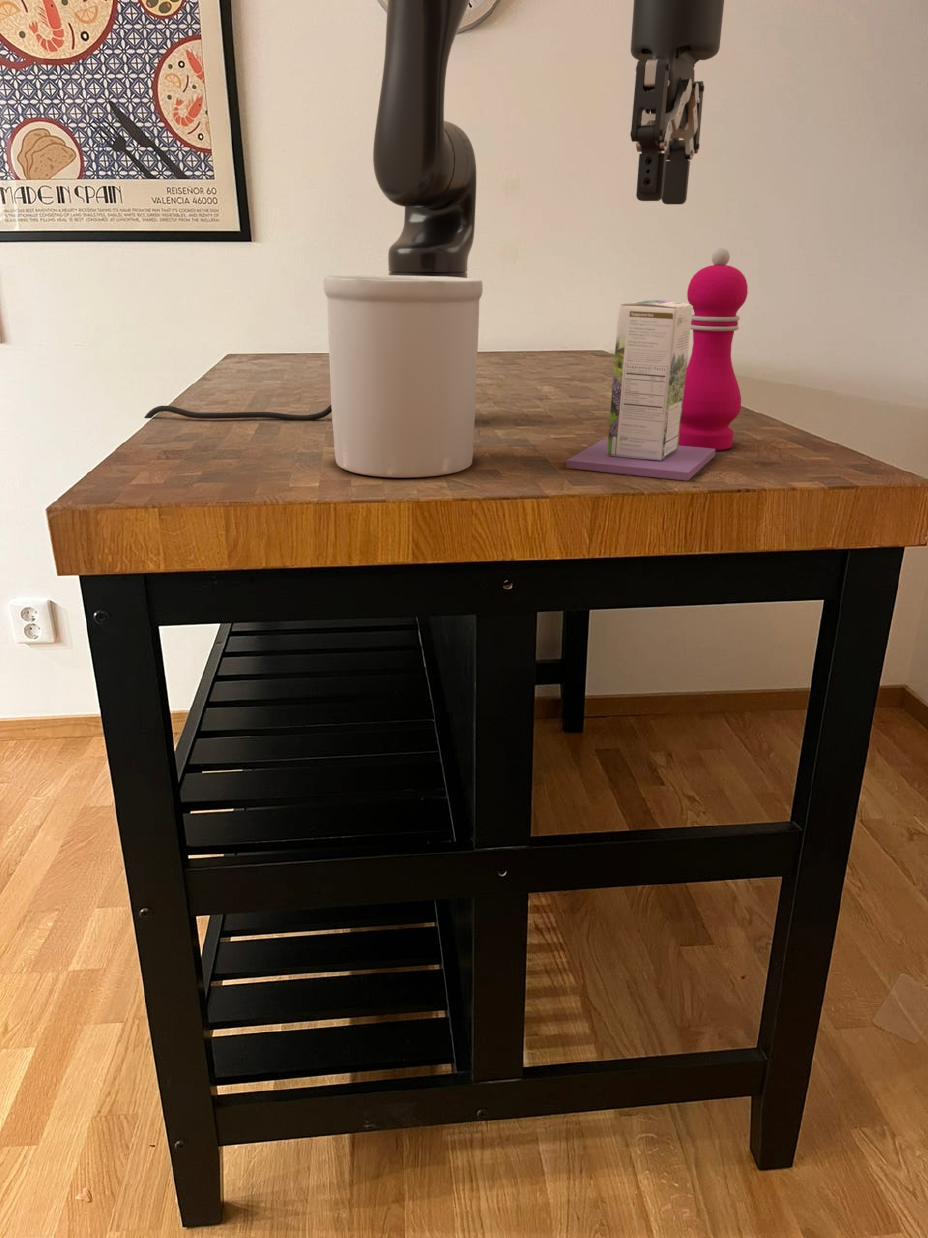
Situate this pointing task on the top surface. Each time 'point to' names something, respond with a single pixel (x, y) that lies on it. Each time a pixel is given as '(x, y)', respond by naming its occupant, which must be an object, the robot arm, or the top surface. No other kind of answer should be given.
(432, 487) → the top surface
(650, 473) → the place mat
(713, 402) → the pepper mill
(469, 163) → the robot arm
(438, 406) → the utensil holder
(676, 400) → the syrup box
